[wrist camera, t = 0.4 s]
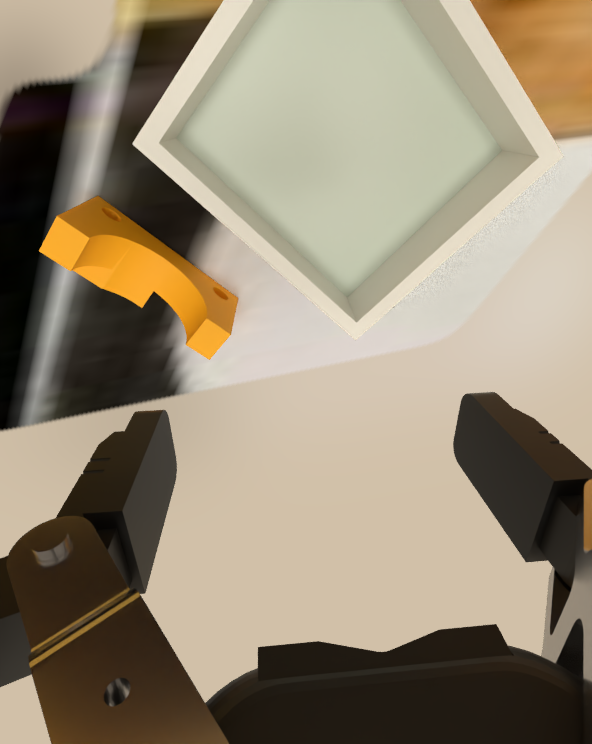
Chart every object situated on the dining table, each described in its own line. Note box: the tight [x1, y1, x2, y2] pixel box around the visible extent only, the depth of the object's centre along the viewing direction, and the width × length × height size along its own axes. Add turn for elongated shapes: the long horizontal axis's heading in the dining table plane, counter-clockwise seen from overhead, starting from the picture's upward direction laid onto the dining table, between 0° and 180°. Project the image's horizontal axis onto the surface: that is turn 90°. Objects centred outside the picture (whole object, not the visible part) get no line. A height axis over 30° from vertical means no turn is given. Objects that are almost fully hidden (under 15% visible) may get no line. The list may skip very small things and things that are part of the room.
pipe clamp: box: [39, 196, 238, 360], centre depth 29 cm, size 12×4×6 cm, turn 50°
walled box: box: [133, 0, 564, 341], centre depth 25 cm, size 16×18×6 cm
